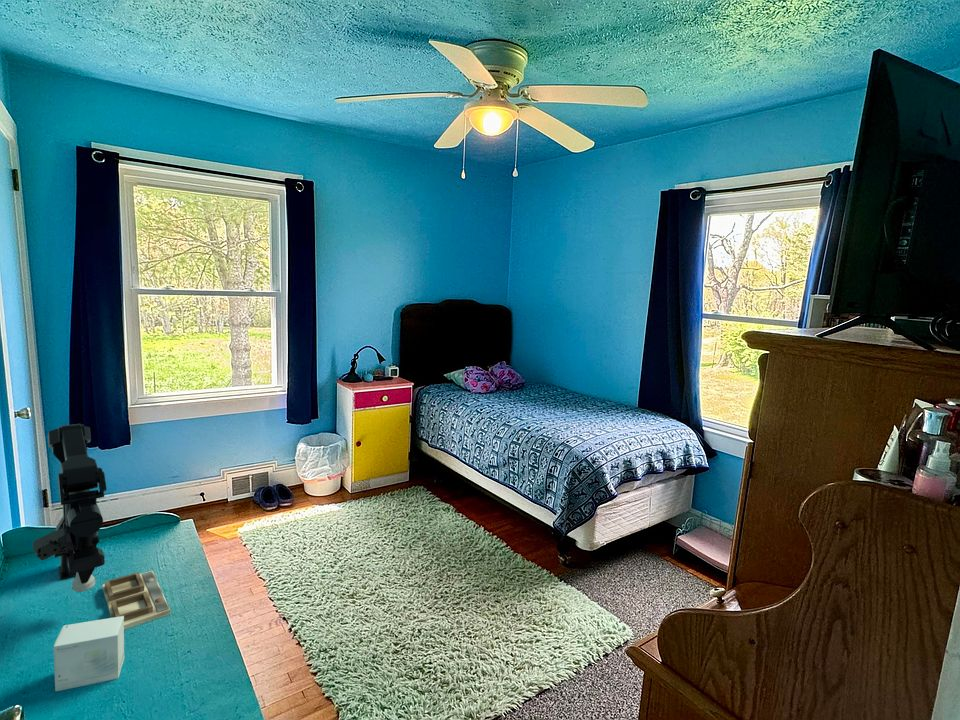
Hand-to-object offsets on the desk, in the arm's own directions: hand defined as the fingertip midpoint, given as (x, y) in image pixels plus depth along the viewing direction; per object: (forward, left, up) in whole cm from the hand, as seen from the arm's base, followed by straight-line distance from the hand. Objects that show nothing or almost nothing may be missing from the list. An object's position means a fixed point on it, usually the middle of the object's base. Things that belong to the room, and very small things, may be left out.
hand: (83, 578), depth 117 cm
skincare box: (+22, -1, -10) cm, 24 cm away
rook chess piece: (0, 0, -2) cm, 2 cm away
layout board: (+1, +10, -9) cm, 14 cm away
